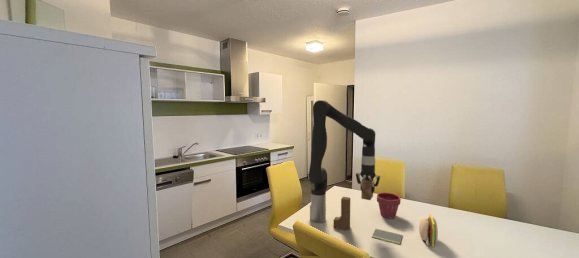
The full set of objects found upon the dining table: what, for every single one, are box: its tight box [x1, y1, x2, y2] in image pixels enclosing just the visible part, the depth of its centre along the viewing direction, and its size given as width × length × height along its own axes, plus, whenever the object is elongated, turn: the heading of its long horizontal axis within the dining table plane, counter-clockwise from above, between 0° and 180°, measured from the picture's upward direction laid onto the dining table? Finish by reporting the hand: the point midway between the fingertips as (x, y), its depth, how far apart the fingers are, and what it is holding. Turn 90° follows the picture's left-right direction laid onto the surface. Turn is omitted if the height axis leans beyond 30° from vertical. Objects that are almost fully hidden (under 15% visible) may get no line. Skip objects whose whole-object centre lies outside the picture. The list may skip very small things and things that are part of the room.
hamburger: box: [418, 213, 439, 247], centre depth 127 cm, size 12×8×12 cm
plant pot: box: [376, 192, 401, 219], centre depth 157 cm, size 14×14×13 cm
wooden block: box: [333, 196, 351, 231], centre depth 142 cm, size 9×4×18 cm, turn 64°
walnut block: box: [360, 177, 375, 201], centre depth 140 cm, size 5×7×11 cm
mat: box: [371, 228, 403, 245], centre depth 131 cm, size 14×10×1 cm
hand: (367, 191), depth 140 cm, fingers closed on walnut block, 5 cm apart
